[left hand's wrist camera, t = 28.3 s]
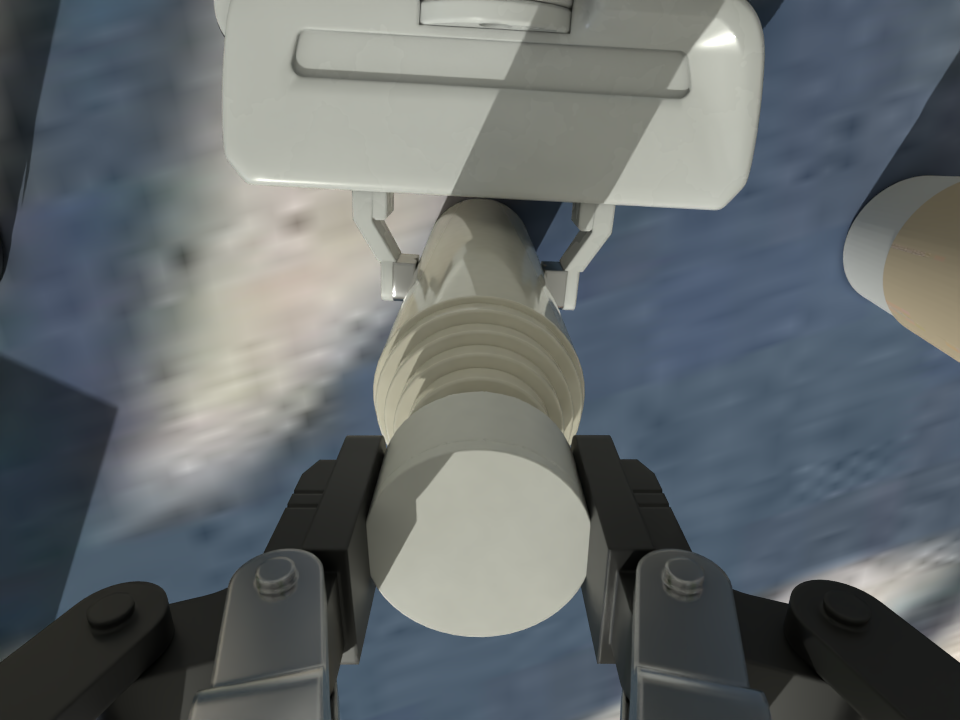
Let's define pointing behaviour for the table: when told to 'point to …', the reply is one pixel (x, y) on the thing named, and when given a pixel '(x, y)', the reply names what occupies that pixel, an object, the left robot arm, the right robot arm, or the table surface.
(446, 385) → the bottle
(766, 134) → the table surface
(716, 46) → the right robot arm
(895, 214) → the coffee cup
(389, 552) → the cap
